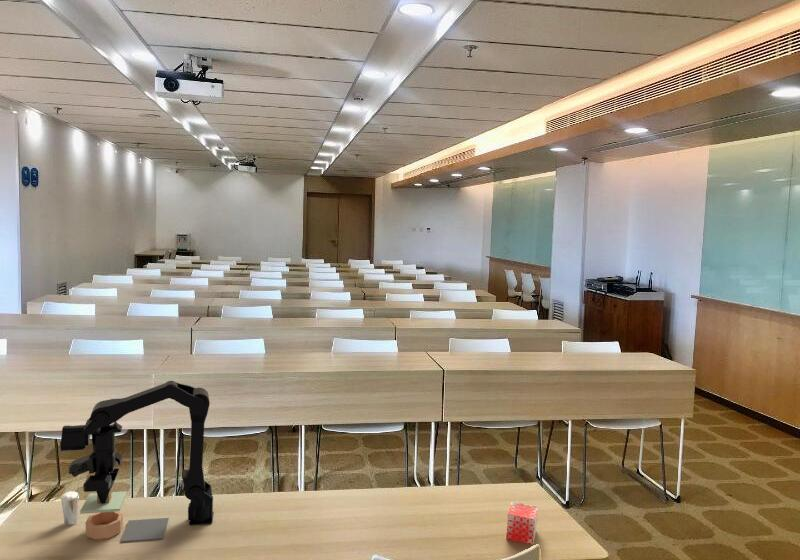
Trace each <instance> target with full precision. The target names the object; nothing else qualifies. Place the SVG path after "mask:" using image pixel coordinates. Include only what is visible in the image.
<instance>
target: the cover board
mask: <svg viewBox="0 0 800 560" xmlns="http://www.w3.org/2000/svg"><path fill="white" fill-rule="evenodd" d="M127 496H128V491H127V490H126V491H112V489H110V492H109V495H108V497H107V500H106V502H105V503H103V504H101V502H100V500H99V497H98V494H97V492H92V493H89V494H88V495H87V498H86V499H85V501H84V503H83V505H82V507H81V509H80V510H79V515H82V514H84V515H85V514H95V513H101V512H116V511H118V512H121V510H122V507H123V505H124V503H125V499H126V498H127Z"/></svg>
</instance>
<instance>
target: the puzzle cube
mask: <svg viewBox="0 0 800 560" xmlns="http://www.w3.org/2000/svg"><path fill="white" fill-rule="evenodd" d="M538 513H539V506H535V505H530V504H525V503H519V502H516V501H515V502H514V501H511V503H510V506H509V510H508V513H507V523H506V524H507V525H506V537H505V539H506V540H511V541H515V542H519V543H524V544H529V545H534V541H535V538H536V533H537V525H538Z"/></svg>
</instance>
